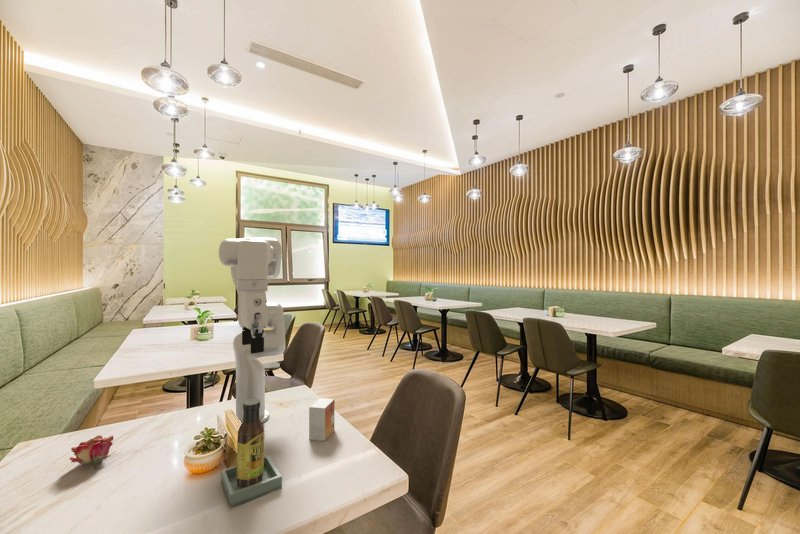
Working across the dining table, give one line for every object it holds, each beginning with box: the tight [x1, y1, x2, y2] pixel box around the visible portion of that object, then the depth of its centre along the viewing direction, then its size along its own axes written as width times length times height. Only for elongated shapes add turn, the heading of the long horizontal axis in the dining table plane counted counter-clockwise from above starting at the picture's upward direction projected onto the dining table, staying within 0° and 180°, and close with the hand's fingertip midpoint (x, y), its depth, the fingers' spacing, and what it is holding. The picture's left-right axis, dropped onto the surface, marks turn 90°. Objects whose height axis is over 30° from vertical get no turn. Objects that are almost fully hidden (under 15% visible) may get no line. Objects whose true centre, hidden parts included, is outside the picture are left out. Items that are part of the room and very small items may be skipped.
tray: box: [220, 454, 283, 509], centre depth 84 cm, size 12×12×3 cm
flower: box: [69, 435, 115, 470], centre depth 92 cm, size 10×9×8 cm
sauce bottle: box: [236, 399, 265, 487], centre depth 85 cm, size 6×6×20 cm
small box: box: [308, 397, 336, 442], centre depth 110 cm, size 8×6×10 cm
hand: (252, 348), depth 91 cm, fingers open, 9 cm apart
